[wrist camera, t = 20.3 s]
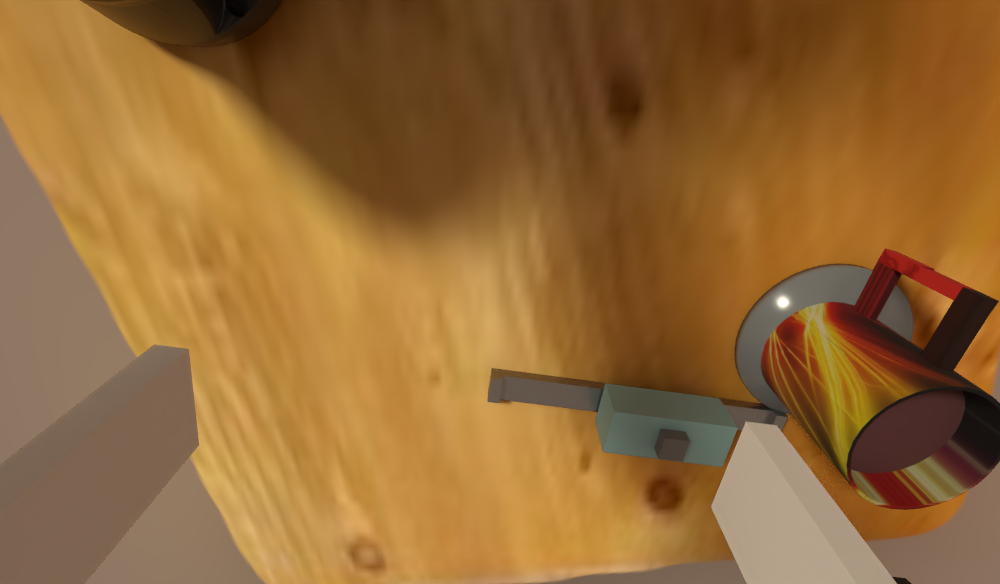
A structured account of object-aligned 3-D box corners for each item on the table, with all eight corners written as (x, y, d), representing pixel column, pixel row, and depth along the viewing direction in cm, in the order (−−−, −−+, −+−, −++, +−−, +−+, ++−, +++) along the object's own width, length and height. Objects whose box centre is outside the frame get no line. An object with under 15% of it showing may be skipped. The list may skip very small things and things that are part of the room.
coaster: (767, 252, 41) (772, 255, 40) (937, 276, 41) (945, 280, 40) (713, 399, 46) (716, 404, 45) (863, 419, 47) (869, 424, 46)
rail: (491, 368, 45) (491, 378, 44) (778, 406, 46) (787, 417, 45) (488, 391, 46) (487, 401, 44) (769, 427, 47) (778, 439, 46)
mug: (886, 241, 39) (1034, 307, 28) (877, 390, 44) (999, 495, 33) (756, 268, 40) (850, 342, 29) (762, 411, 45) (844, 520, 34)
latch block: (605, 383, 44) (617, 421, 39) (719, 398, 44) (744, 437, 40) (595, 421, 46) (605, 462, 41) (705, 435, 46) (728, 477, 41)
